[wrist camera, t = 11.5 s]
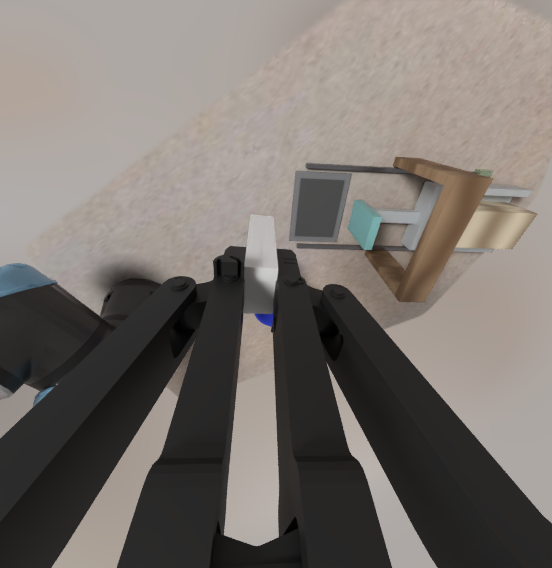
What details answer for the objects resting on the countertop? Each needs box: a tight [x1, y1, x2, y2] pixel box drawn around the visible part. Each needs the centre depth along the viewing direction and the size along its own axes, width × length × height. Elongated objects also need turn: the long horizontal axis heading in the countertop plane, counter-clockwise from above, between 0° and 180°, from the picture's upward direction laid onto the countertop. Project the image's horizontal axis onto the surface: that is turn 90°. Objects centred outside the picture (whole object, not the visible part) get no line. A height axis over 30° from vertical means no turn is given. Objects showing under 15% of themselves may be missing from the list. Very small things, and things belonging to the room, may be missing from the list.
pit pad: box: [289, 171, 351, 242], centre depth 41 cm, size 9×12×1 cm
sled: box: [348, 181, 533, 252], centre depth 38 cm, size 28×11×10 cm, turn 87°
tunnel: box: [365, 157, 493, 302], centre depth 36 cm, size 4×17×14 cm, turn 177°
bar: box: [455, 201, 537, 249], centre depth 39 cm, size 12×6×6 cm, turn 87°
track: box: [297, 163, 493, 251], centre depth 41 cm, size 30×15×1 cm, turn 87°
